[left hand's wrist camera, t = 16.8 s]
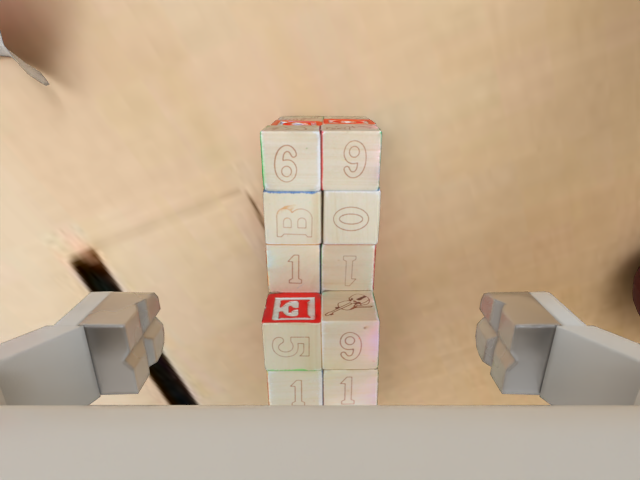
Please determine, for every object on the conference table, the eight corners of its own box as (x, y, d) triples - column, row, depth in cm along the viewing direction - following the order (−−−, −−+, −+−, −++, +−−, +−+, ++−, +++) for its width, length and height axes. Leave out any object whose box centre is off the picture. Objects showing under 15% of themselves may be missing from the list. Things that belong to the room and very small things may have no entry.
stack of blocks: (278, 114, 28) (249, 135, 17) (366, 115, 28) (398, 136, 17) (285, 364, 36) (269, 494, 25) (355, 364, 36) (371, 495, 25)
